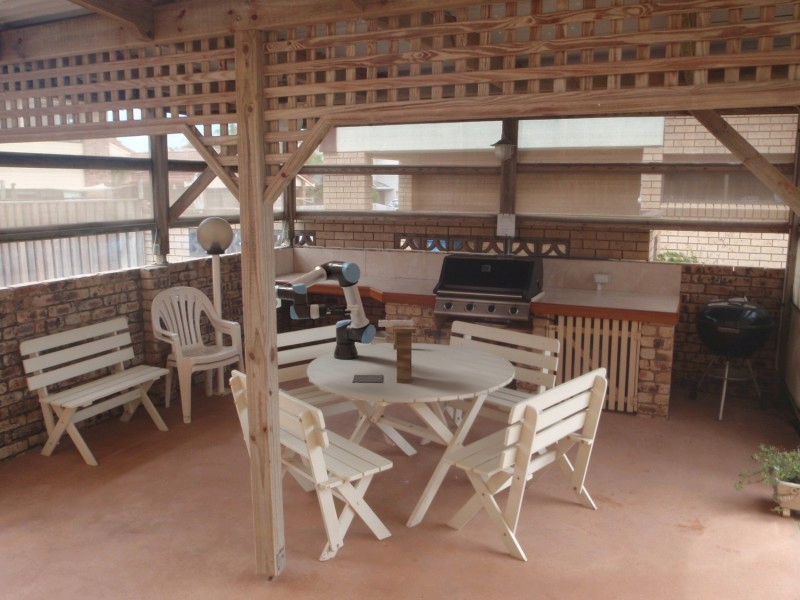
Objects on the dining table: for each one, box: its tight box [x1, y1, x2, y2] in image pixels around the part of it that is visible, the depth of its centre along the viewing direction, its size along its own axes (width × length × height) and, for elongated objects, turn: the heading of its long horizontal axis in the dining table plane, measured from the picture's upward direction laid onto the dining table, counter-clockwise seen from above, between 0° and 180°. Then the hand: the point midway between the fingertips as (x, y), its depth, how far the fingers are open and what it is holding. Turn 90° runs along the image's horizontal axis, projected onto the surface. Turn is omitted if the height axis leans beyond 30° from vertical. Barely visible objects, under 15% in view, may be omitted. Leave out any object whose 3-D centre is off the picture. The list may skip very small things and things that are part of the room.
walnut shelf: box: [392, 322, 416, 383], centre depth 379 cm, size 16×12×30 cm
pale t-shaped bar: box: [377, 319, 414, 328], centre depth 376 cm, size 6×19×3 cm, turn 89°
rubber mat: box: [352, 374, 384, 384], centre depth 381 cm, size 14×16×1 cm
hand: (357, 309), depth 377 cm, fingers open, 13 cm apart
